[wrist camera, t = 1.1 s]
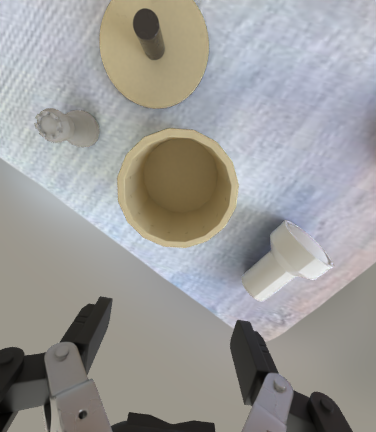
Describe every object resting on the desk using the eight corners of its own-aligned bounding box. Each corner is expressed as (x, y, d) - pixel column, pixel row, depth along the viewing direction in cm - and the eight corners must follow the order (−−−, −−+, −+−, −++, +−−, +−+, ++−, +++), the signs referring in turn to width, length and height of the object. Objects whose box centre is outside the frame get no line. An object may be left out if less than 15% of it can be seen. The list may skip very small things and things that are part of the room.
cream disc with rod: (125, -39, 24) (103, -104, 18) (226, 22, 26) (239, -16, 20) (89, 79, 28) (59, 60, 21) (180, 127, 29) (178, 123, 23)
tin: (159, 117, 29) (145, 104, 19) (236, 157, 31) (260, 164, 21) (127, 195, 32) (100, 219, 22) (198, 228, 34) (203, 264, 24)
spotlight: (327, 244, 33) (347, 276, 26) (271, 287, 38) (275, 325, 31) (284, 210, 33) (292, 233, 26) (233, 258, 38) (229, 289, 31)
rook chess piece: (66, 144, 30) (25, 145, 22) (65, 108, 29) (22, 96, 21) (100, 149, 30) (71, 152, 23) (101, 113, 29) (70, 103, 21)
